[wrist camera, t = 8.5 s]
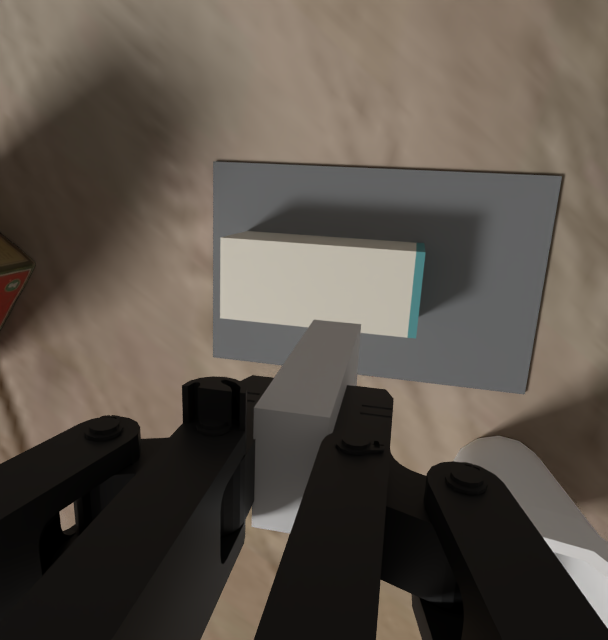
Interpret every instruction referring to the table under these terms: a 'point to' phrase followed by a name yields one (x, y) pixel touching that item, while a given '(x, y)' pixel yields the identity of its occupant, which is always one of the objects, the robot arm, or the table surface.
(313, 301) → the cream teal rectangular block
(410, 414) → the table surface
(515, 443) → the foam cup
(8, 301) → the food packaging
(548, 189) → the mat
